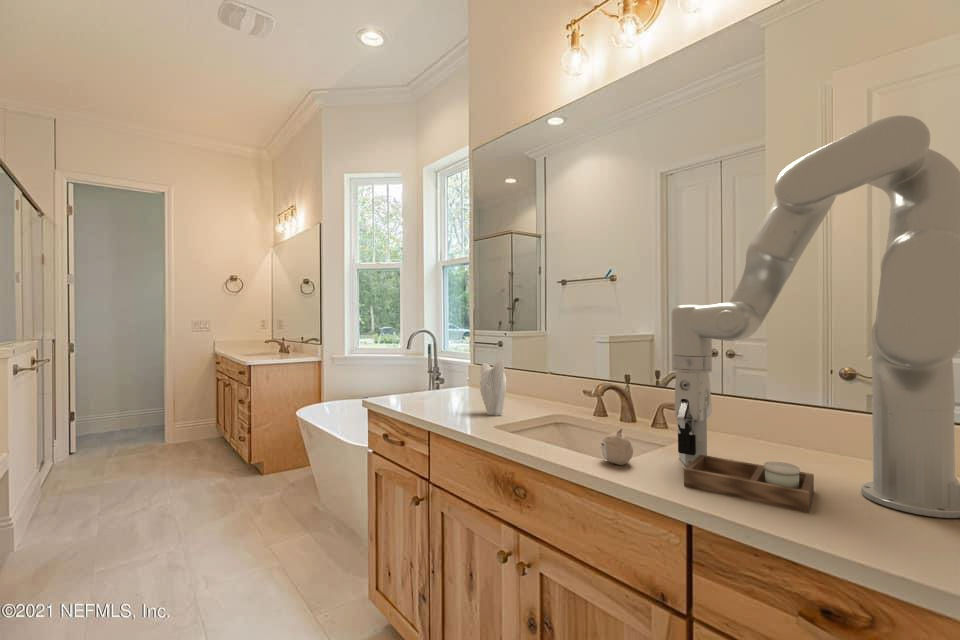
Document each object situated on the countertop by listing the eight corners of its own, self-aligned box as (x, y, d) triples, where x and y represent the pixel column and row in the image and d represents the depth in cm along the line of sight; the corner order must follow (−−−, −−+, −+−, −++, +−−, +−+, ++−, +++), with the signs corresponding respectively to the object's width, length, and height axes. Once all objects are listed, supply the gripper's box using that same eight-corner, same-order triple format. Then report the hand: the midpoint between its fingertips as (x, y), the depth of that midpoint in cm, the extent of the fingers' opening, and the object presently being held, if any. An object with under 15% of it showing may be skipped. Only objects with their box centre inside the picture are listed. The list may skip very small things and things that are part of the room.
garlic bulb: (597, 465, 92) (596, 426, 92) (605, 456, 98) (605, 420, 98) (630, 470, 89) (629, 429, 89) (637, 461, 95) (636, 423, 95)
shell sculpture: (481, 412, 147) (480, 357, 147) (506, 412, 146) (505, 357, 146) (480, 417, 139) (479, 359, 139) (506, 417, 138) (506, 359, 138)
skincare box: (707, 467, 90) (707, 407, 90) (685, 466, 91) (684, 407, 91) (699, 458, 96) (699, 402, 96) (678, 457, 97) (677, 401, 97)
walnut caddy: (813, 491, 77) (813, 474, 77) (808, 512, 69) (808, 493, 69) (700, 469, 89) (700, 454, 89) (684, 485, 80) (683, 469, 80)
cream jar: (801, 491, 76) (801, 465, 76) (798, 500, 72) (798, 473, 72) (766, 484, 79) (766, 459, 79) (762, 492, 75) (761, 467, 75)
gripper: (699, 368, 84) (700, 463, 84) (721, 361, 98) (722, 443, 98) (659, 366, 89) (659, 456, 89) (684, 360, 103) (685, 438, 103)
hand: (692, 448), depth 94 cm, fingers closed on skincare box, 7 cm apart
